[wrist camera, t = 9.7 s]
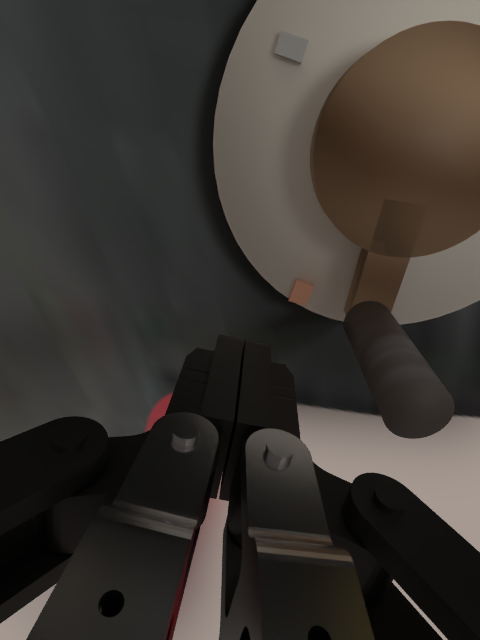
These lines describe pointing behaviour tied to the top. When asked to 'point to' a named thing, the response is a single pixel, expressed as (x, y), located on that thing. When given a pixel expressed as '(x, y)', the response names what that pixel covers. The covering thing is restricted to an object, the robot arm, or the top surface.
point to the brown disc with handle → (401, 195)
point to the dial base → (294, 152)
